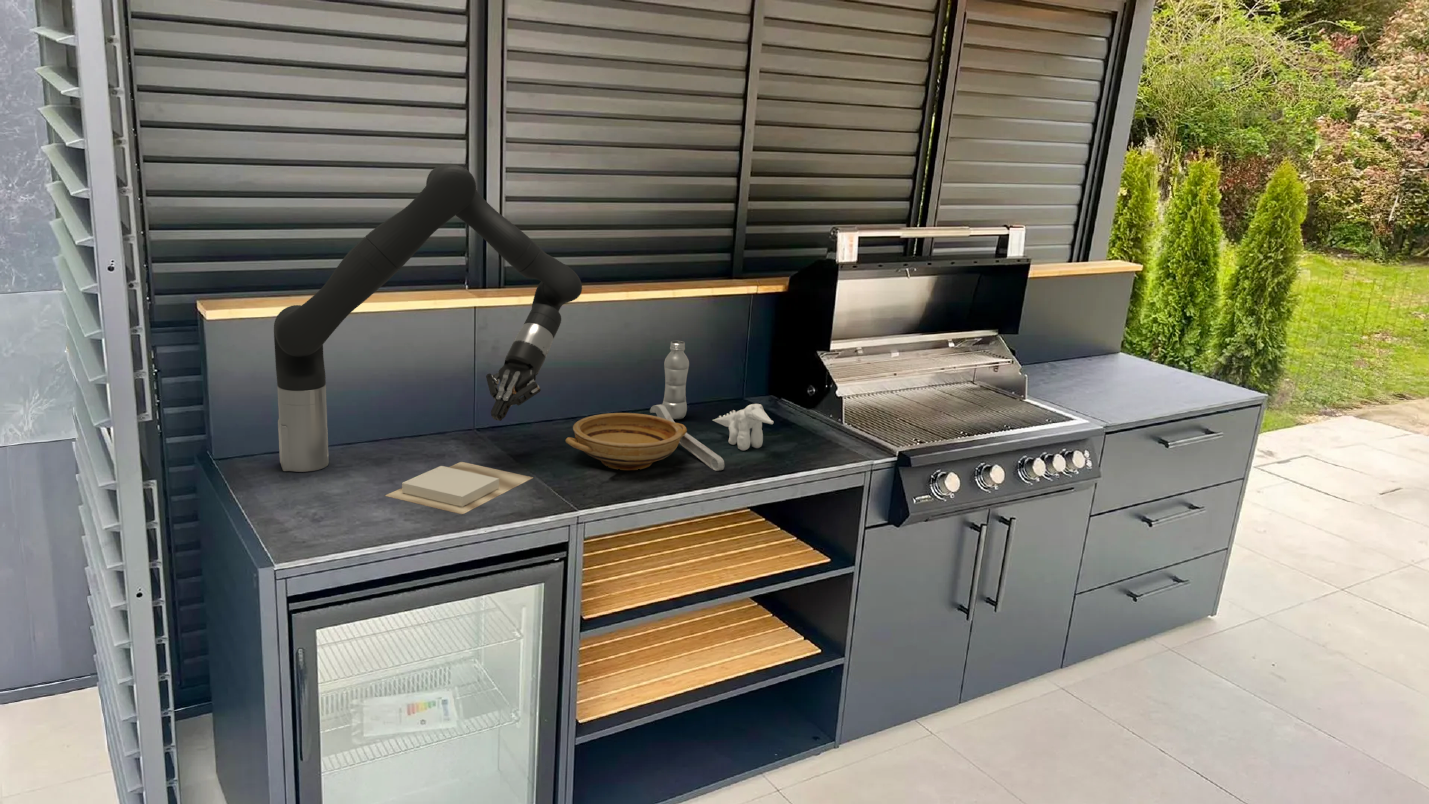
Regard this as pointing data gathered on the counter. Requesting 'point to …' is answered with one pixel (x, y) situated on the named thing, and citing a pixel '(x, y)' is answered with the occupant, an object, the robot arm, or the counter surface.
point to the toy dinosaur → (745, 426)
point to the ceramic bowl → (626, 439)
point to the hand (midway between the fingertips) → (495, 418)
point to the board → (505, 484)
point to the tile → (450, 486)
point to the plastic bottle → (676, 380)
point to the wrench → (692, 443)
